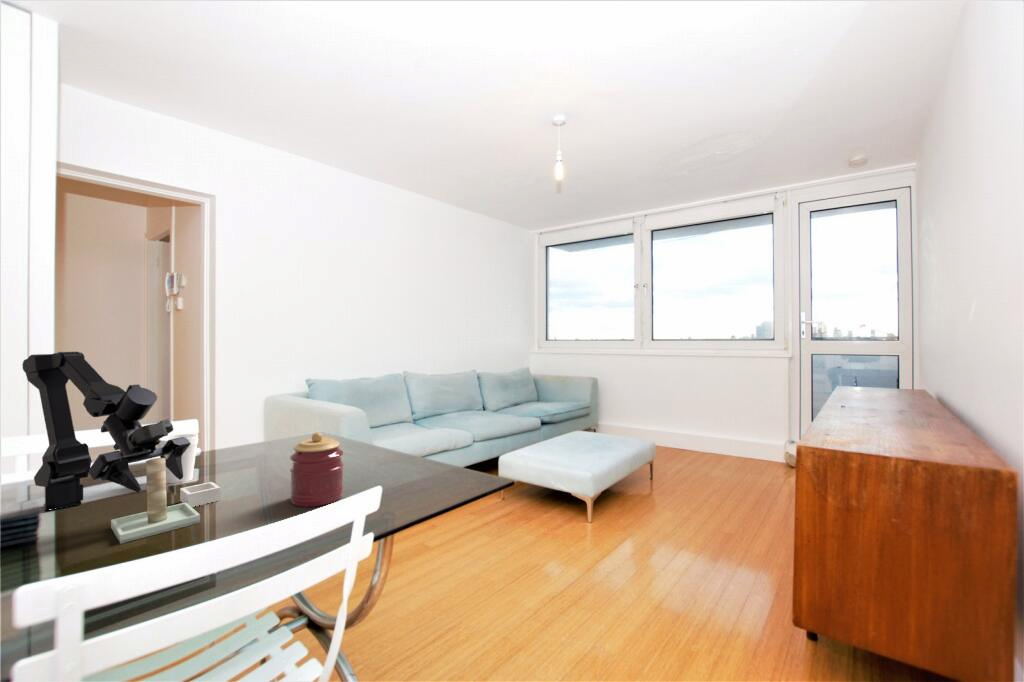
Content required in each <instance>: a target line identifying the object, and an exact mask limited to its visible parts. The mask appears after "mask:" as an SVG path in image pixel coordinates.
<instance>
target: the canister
mask: <svg viewBox="0 0 1024 682" xmlns="http://www.w3.org/2000/svg"><path fill="white" fill-rule="evenodd" d="M340 445H341V443H340V442H339V441H337V440H335V439H334V438H332V437H323V434H322V433H321V432H317V431H316V432H314V433H313V434H312V435H311V438H309V439H303V440H301V441H300V442H299V443H298V444H296V445H295V446H294V447H293V450H294V453H292V454H291V455H290V460H291V461H292V464H291V465H292V466H291V468H290V487H291V488H290V493H289V494H290V495H289V497H290V500H291V503H292V504H293V505H294V506H297V507H302V508H303V507H305V508H306V507H308V508H309V507H319V506H324V505H330V504H331V503H334V502H337V501H338V500H340V499H341V498H342V497H343V493H344V491H345V490H344V483H343V482H344V462H342V456H343V454H344V451H343V449H342V448H340ZM341 496H342V497H341ZM340 497H341V498H340Z"/></svg>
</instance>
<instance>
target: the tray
mask: <svg viewBox="0 0 1024 682" xmlns="http://www.w3.org/2000/svg"><path fill="white" fill-rule="evenodd" d="M200 523H201V514H200V513H199V512H197V511H196V510H195V509H194V507H191V506H190V505H189V504H187V503H186V502H185V503H181V502H180V503H178V504H173V505H168V506H167V519H166V520H164V521H161V522H158V523H148V513H147V511H144V512H139V513H136V514H131V515H125V516H122V517H117V518H114V519H110V527H111V530H112V532H113V533H114V536H115V537H116V539H117V540H118V542H119V544H121V545H122V544H125V543H129V542H133V541H137V540H140V539H143V538H148V537H151V536H156V535H159V534H163V533H166V532H170V531H174V530H178V529H181V528H185V527H189V526H193V525H197V524H200Z"/></svg>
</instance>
